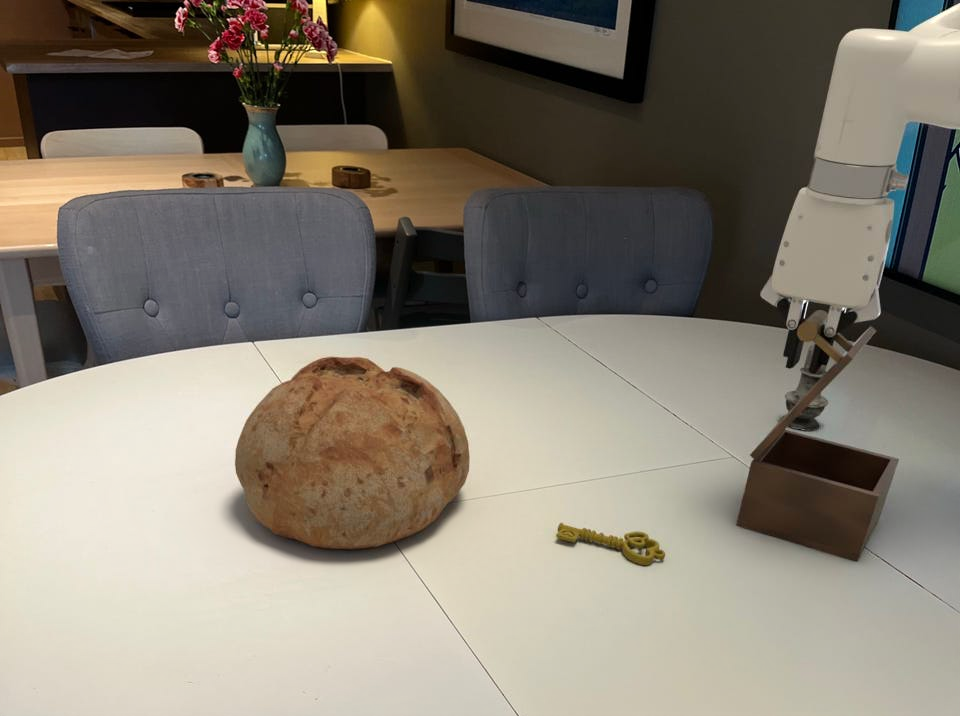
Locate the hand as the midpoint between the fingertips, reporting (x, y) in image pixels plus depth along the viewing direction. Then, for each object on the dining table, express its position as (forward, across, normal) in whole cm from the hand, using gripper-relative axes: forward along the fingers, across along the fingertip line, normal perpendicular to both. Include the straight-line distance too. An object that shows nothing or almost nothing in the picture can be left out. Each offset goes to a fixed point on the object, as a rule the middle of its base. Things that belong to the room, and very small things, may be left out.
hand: (803, 366), depth 105 cm
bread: (+17, +40, +27) cm, 51 cm away
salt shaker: (+18, +4, -30) cm, 35 cm away
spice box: (+17, -5, 0) cm, 18 cm away
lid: (+3, -2, 0) cm, 3 cm away
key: (+17, +12, +19) cm, 28 cm away
